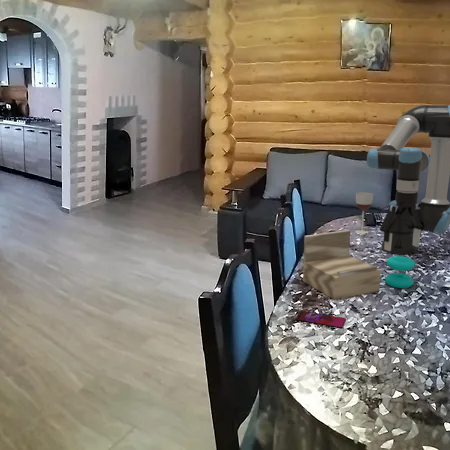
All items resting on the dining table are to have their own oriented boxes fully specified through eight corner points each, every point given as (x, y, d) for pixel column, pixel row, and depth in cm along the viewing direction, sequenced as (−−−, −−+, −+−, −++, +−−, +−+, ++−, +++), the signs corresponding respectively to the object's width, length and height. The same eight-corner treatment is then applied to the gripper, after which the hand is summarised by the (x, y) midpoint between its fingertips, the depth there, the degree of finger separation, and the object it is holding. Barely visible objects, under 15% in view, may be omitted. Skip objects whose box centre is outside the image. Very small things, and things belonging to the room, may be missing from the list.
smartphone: (342, 327, 160) (294, 319, 166) (342, 330, 161) (294, 321, 166) (346, 317, 167) (300, 310, 173) (346, 320, 168) (300, 312, 173)
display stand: (302, 281, 200) (304, 235, 196) (345, 273, 209) (348, 230, 204) (334, 299, 183) (336, 250, 178) (379, 290, 191) (383, 243, 186)
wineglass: (371, 234, 265) (374, 195, 260) (353, 233, 267) (356, 194, 262) (370, 230, 273) (372, 192, 268) (353, 229, 274) (355, 191, 269)
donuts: (415, 264, 189) (387, 262, 191) (413, 290, 191) (384, 287, 194) (414, 256, 198) (387, 254, 201) (412, 281, 200) (385, 278, 203)
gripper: (387, 195, 180) (382, 254, 185) (440, 190, 190) (434, 246, 195) (372, 191, 186) (368, 249, 192) (425, 187, 197) (419, 241, 202)
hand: (401, 248), depth 193 cm, fingers open, 13 cm apart
